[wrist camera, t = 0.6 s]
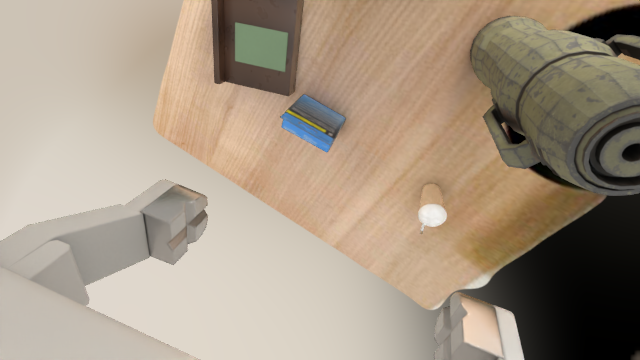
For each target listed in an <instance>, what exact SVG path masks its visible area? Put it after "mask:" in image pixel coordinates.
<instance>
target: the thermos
mask: <svg viewBox="0 0 640 360" xmlns="http://www.w3.org/2000/svg"><path fill="white" fill-rule="evenodd" d="M621 53H623V54H624V55H627V56H630V57H633V58H636V59H639V60H640V37H638V36H633V35H615V36H614V37H612V38H611V39H609V40H608V41H606V42H605V41H604V40H602V39H598V38H596V39H593V38H590V37H587V36H583V35H580V34H577V33H573V32H570V31H562V30H547V29H546V28H545V27H544V26H543V25H542V24H541V23H539V22H537V21H535V20H533V19H530V18H526V17H518V16H507V17H502V18H498V19H496V20H494V21H492V22H490V23H488V24H487V25H486V26H485V27H484V28H483V29H482V30H481V31H479V33H478V34H477V36H476V38H475V39H474V41H473V44H472V47H471V50H470V59H471V63H472V66H473V69H474V72H475V74H476V75H477V77H478V78H479V79H480V80H481V81H482V83H483V84H484V85H486V86H487V87H489V88H491V95H492V97H493V99H492V101H493V104H494V105H493V106H492V107H490V109H489V110H488V111H487V112H486V113H485V115H484V116H483V118H484V120H485V122H486V124H487V126H488V128H489V131H490V133H491V135H492V137H493V139H494V142H495V144H496V146H497V148H498V150H499V153H500V155H501V158H502V160H503V161H504V162H505V163H506V164H507V166H509V167H516V168H523V169H526V168H528V167H530V166H532V165H534V164H536V163H538V162H541V163H542V164H543V165H545V164H546V165H547V166H548V167H549V168H550V169H551V170H552V172H553V173H554V174H556V175H557V176H559V177H561V178H563V179H565V180H567V181H569V182H571V183H573V184H575V185H578V186H580V187H582V188H585V189H587V190H590V191H592V192H595V193H600V194H605V195H611V196H615V195H633V194H637V193H640V65H637V64H635V63H632V62H629V61H626V60H624V59H621V58H618V56H619V55H620V54H621ZM503 122H505V123H506V124H507V125H508V126H509V125H510V126H511V127H512V128H513V130H514V131H516V132H518V133H520V134H522V135H524V136H525V137H526V140H525V141H523V142H522V143H520V144H512V143H511V141H510V139H509V137H508V136H507V134H506V132H505V130H504V129H503V127H502V125H501V124H502V123H503Z"/></svg>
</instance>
